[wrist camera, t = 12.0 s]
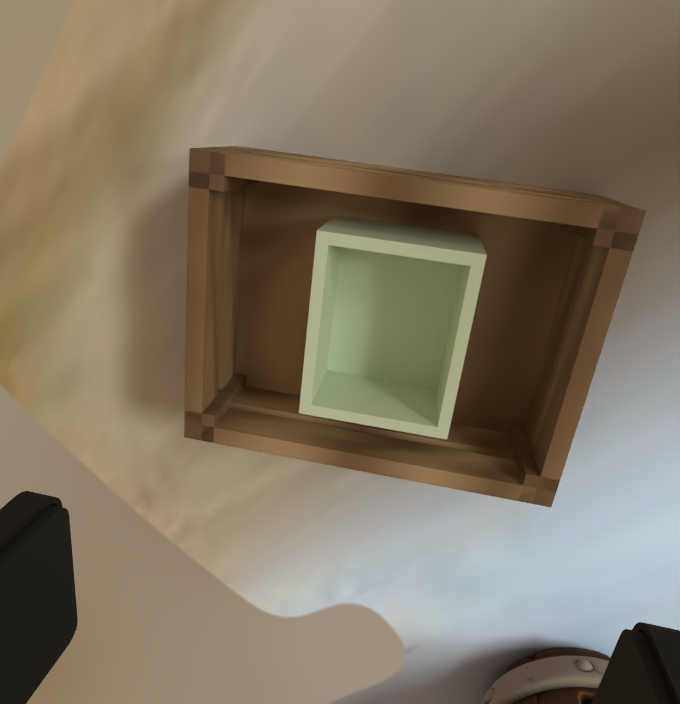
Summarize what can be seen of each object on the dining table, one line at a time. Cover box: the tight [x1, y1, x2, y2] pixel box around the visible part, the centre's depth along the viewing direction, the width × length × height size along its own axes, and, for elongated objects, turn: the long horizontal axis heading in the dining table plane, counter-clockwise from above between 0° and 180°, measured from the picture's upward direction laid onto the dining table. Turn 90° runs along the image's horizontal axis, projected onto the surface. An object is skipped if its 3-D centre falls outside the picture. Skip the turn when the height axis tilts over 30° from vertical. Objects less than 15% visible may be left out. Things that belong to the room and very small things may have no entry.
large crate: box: [184, 146, 646, 507], centre depth 25 cm, size 17×13×5 cm
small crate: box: [299, 215, 487, 439], centre depth 25 cm, size 6×8×4 cm
